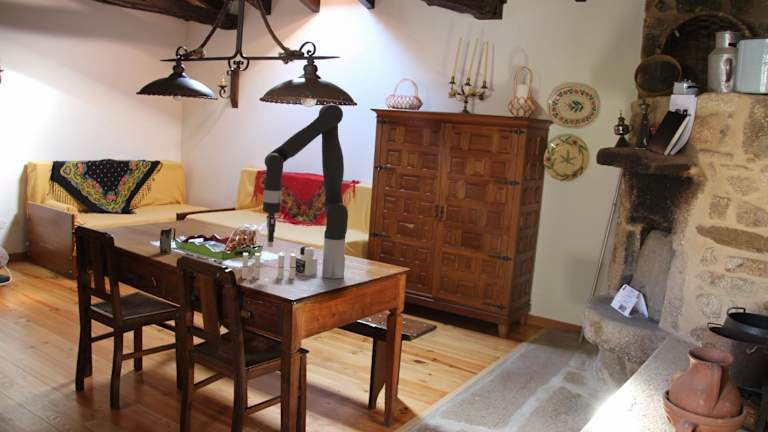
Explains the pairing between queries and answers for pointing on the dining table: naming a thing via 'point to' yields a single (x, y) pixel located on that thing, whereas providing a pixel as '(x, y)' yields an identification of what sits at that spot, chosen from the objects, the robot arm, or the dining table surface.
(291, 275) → the domino
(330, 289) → the dining table surface
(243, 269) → the domino
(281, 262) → the domino
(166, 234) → the mug
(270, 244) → the domino
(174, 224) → the dining table surface
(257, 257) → the domino
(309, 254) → the medicine bottle
